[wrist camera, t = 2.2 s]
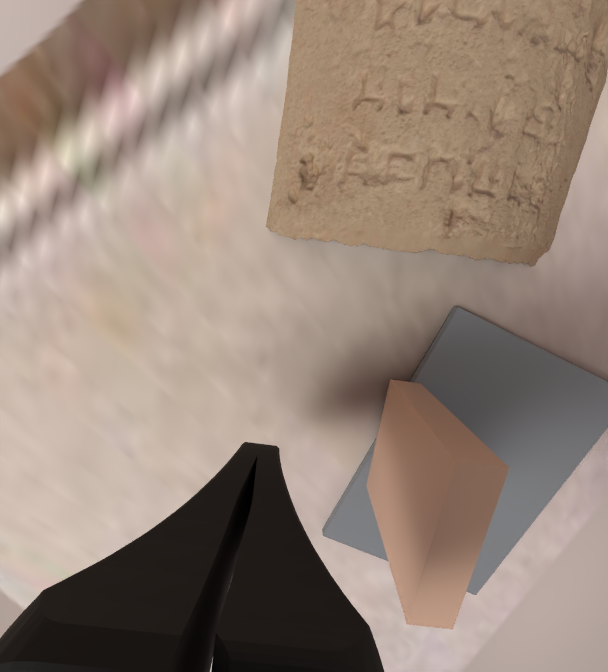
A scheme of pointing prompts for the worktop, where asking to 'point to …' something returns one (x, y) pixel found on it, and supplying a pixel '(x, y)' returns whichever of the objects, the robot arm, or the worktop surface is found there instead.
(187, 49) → the worktop surface
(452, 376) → the mat
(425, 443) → the tile
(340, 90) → the clay tablet
